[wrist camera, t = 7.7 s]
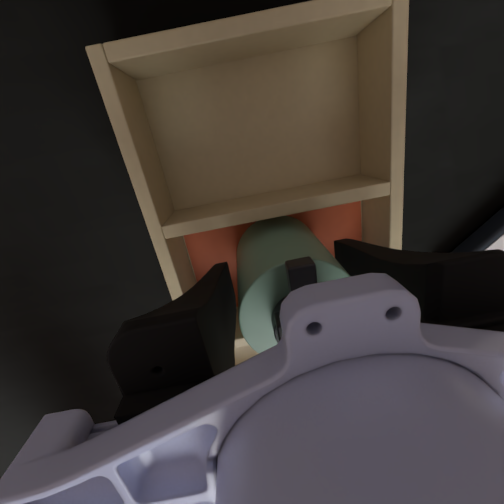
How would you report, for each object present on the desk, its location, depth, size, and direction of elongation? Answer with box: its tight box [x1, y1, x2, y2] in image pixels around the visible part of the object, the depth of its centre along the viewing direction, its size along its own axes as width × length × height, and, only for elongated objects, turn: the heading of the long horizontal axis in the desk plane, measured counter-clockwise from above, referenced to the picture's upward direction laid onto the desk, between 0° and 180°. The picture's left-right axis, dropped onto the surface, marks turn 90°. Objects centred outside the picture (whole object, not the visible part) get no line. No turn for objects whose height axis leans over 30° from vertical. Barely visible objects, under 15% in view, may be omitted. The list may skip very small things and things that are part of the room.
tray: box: [85, 0, 409, 366], centre depth 15 cm, size 20×11×3 cm, turn 11°
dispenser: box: [237, 216, 351, 354], centre depth 12 cm, size 5×5×8 cm
